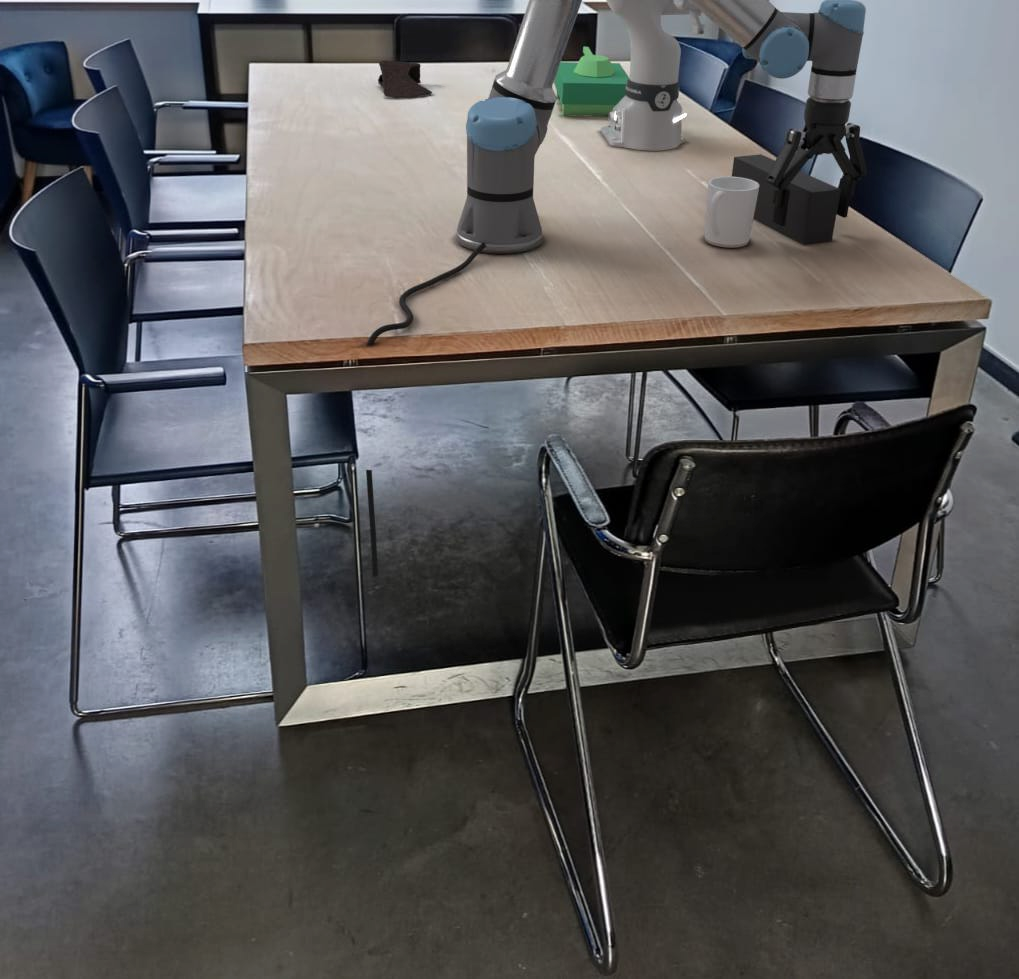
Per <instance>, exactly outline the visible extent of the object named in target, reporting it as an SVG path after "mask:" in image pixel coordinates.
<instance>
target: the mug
mask: <svg viewBox="0 0 1019 979" xmlns="http://www.w3.org/2000/svg"><path fill="white" fill-rule="evenodd" d="M758 191H759V184H758V183H757V182H756V181H753V180H750V179H746V178H741V177H732V176H717V177H712V178H710V179H709V180H708V181H707V192H706V207H705V219H704V220H705V222H704V236H703V238H704V241H705V242H706V243H707V244H710V245H712V246H715V247H719V248H720V247H721V248H731V249H733V248H734V249H735V248H742V247H744V246H747V245H748V244H749V242H750V239H751V233H752V228H753V224H754V223H753V222H754V219H753V218H754V212H755V207H756V202H757V196H758Z"/></svg>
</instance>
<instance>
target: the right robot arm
mask: <svg viewBox="0 0 1019 979" xmlns="http://www.w3.org/2000/svg"><path fill="white" fill-rule="evenodd" d="M768 1H769V2H770V0H768ZM606 3H607V6H608V7H609V9H610V10H611V11H612V12H613V13H614V14H615V15H616V16H618V18H619V19H620V20H621V22H622V23H623V25H624V27H625V29H626V31H627V35H628V39H629V44H630V64H629V79H627V83H626V84H627V85H626V87H625V88H626V89H625V96H624V97H623V98H622V99H621V101H620V102H619V103H618V104H617V105H616V106H615V107H614V108H613V110H612V112H609V115H608V116H607V118H608V119H607V120H608V123H610V124H609V125H605V126H602V127H601V128H600V132H601V134H602V135H603V136H604V138H605V139H606V141H607V143H608V144H609V145H610V146H612V147H617V148H627V149H632V150H639V151H668V150H672V149H673V150H674V149H676V148H678V147H679V146H680V145H681V144H683V143H686V142H687V141H686V140H687V138H686V136H685V135H682V131H683V130H682V129H683V119H684V118H686V117H687V113H686V112H684V113H683V106H682V105H681V103H679V101H678V99H679V98H680V97H679V95H680V90H681V89H680V81H679V75H680V74H679V73H680V66H681V65H680V64H681V53H682V49H681V45H680V43H679V41H678V39H676V38H675V37H674V36H673V35H671V34H670V33H668V32H667V31H665V30H663V27H662V16H679V15H680V16H681V15H683V16H684V15H689V17H690V20H691V22H692V24H693V27H692V34H693V35H696V36H697V35H703V34H704V33H705V27H706V26H705V24H702V22H701V19H700V17H701V16H702V12H701V11H700V10H699V9H698V8H696V7H695V6H694V5H693V4H692V3H691V2H690V1H688V0H606Z"/></svg>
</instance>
